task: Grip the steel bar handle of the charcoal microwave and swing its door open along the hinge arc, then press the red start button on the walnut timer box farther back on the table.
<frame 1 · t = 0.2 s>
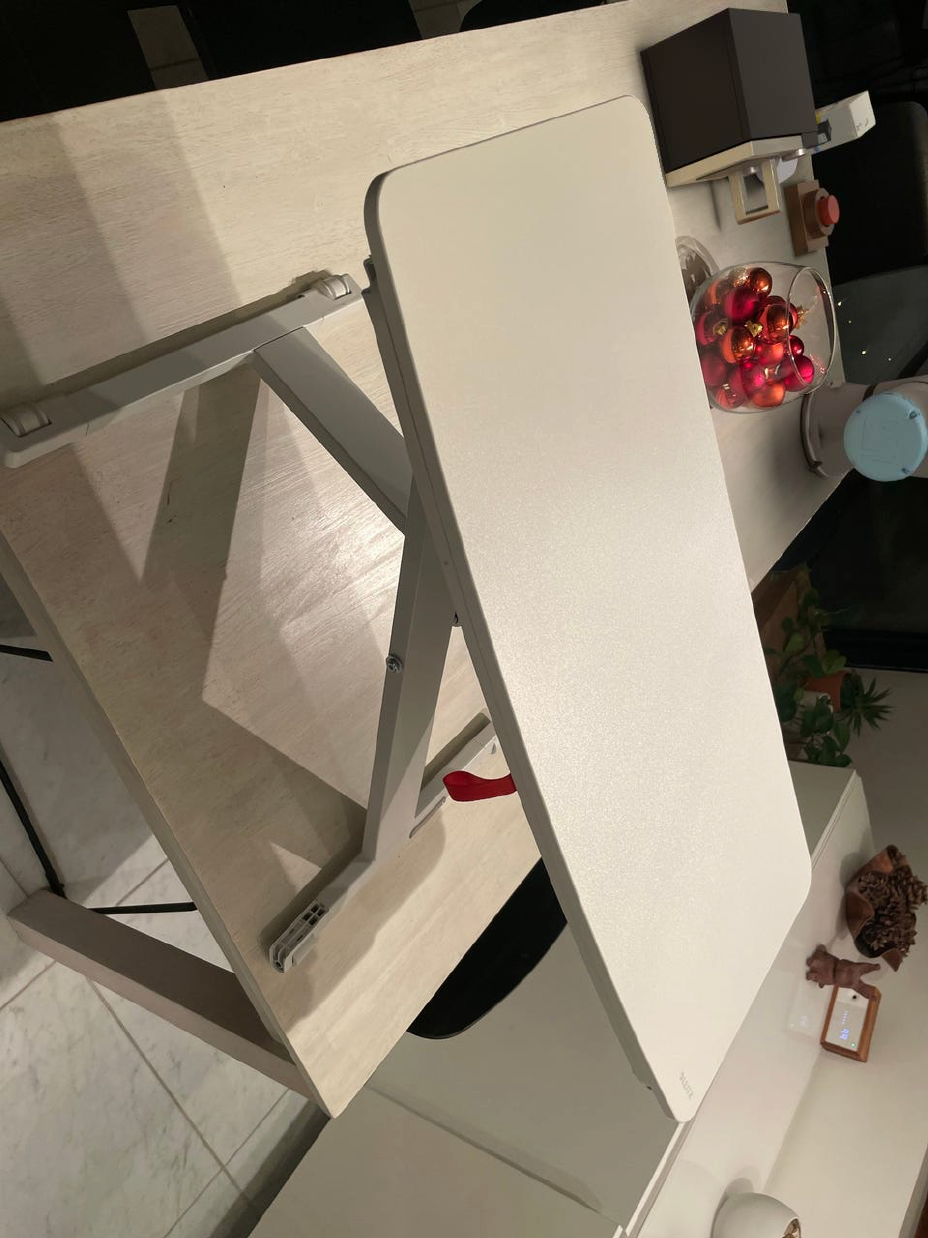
timer box: (799, 219, 148), on the table
wedge on round base: (755, 155, 138), on the table
start button: (828, 210, 144), point 4 cm above the table, slide at 0.1 cm
ink box: (784, 142, 144), on the table
microwave: (690, 110, 124), on the table
door: (739, 188, 121), point 6 cm above the table, hinge at 0.0°
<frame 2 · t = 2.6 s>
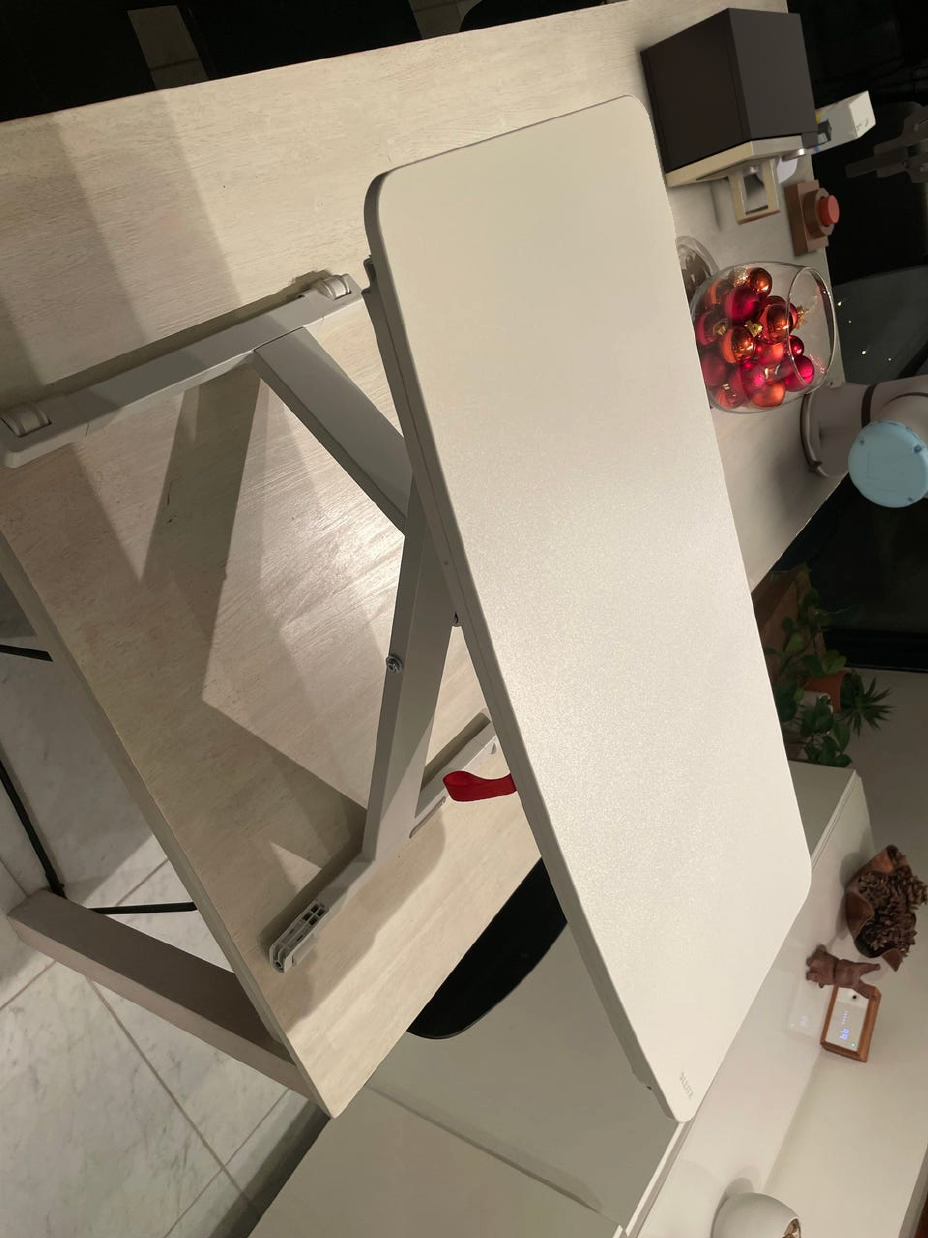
hand: (850, 170, 118), 17 cm above the table, tool pointing down, fingers closed
nothing on the table moved.
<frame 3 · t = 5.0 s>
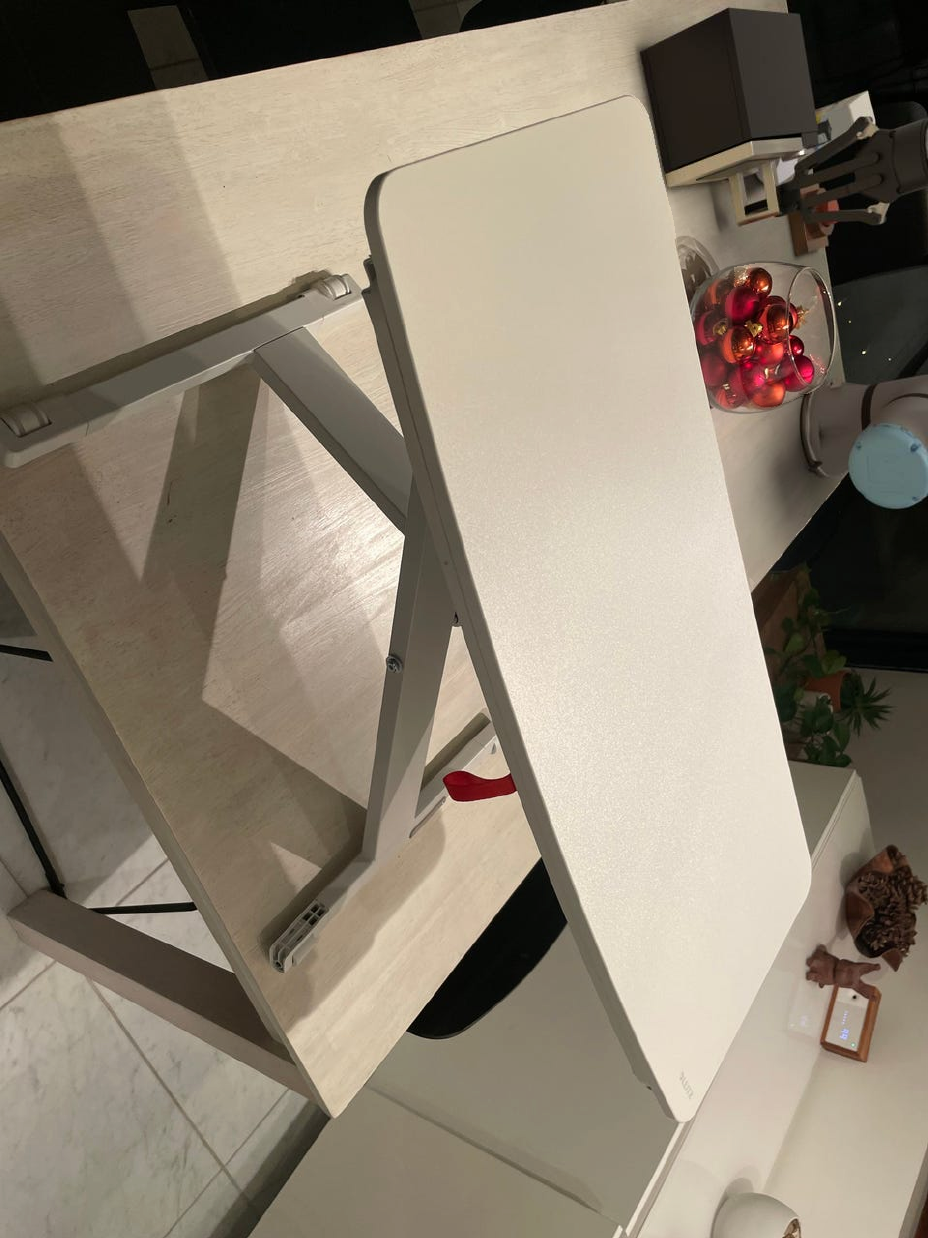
hand: (750, 210, 128), 4 cm above the table, tool pointing down, fingers closed
door: (739, 189, 121), point 6 cm above the table, hinge at 1.0°, touching gripper
everything else where it was.
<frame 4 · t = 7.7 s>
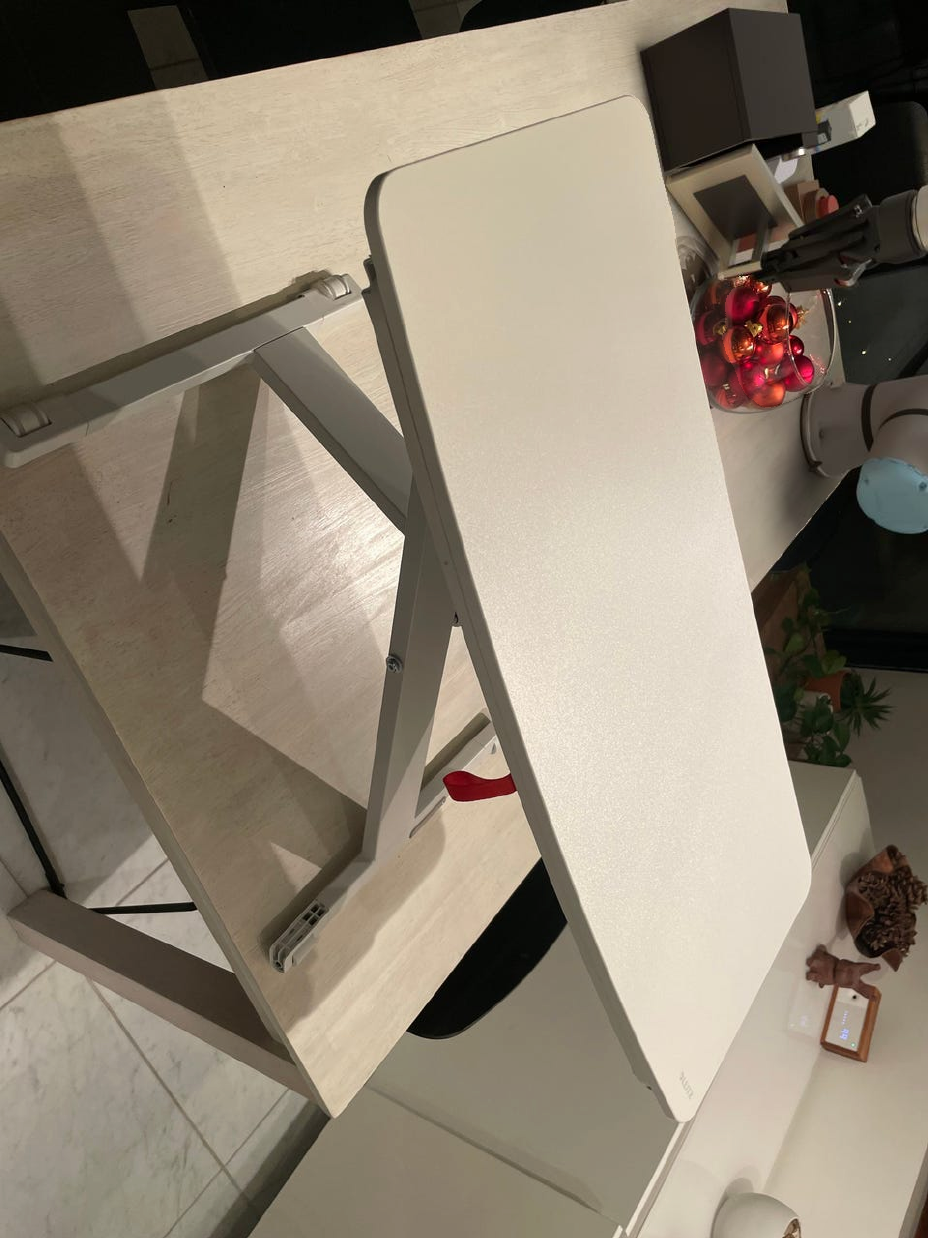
hand: (735, 278, 125), 4 cm above the table, tool pointing down, fingers closed, pressing on door
door: (730, 226, 119), point 6 cm above the table, hinge at 45.1°, touching gripper
everything else where it was.
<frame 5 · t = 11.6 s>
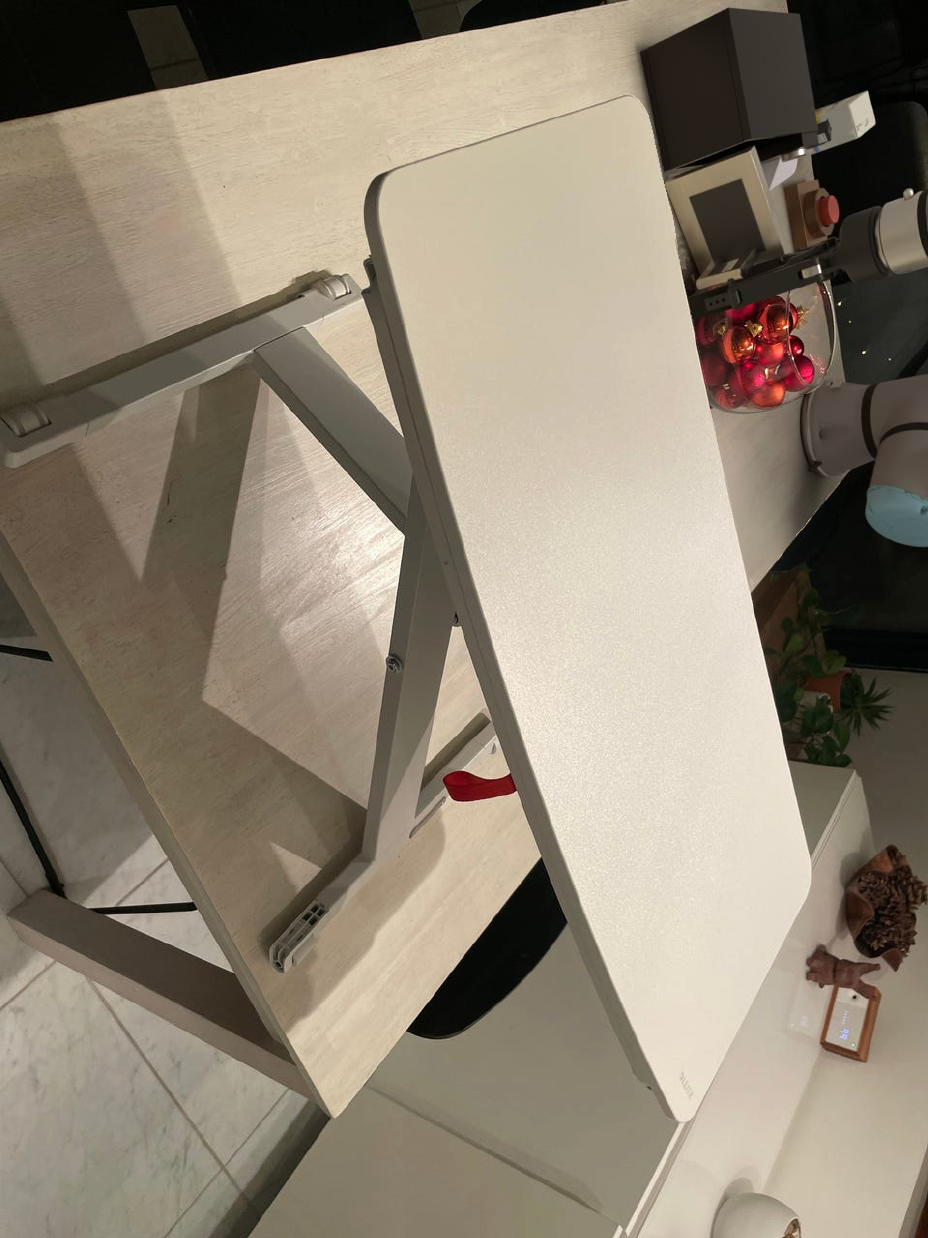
hand: (710, 296, 117), 6 cm above the table, tool pointing down, fingers open, 12 cm apart
door: (718, 233, 117), point 6 cm above the table, hinge at 69.9°, touching gripper
everything else where it was.
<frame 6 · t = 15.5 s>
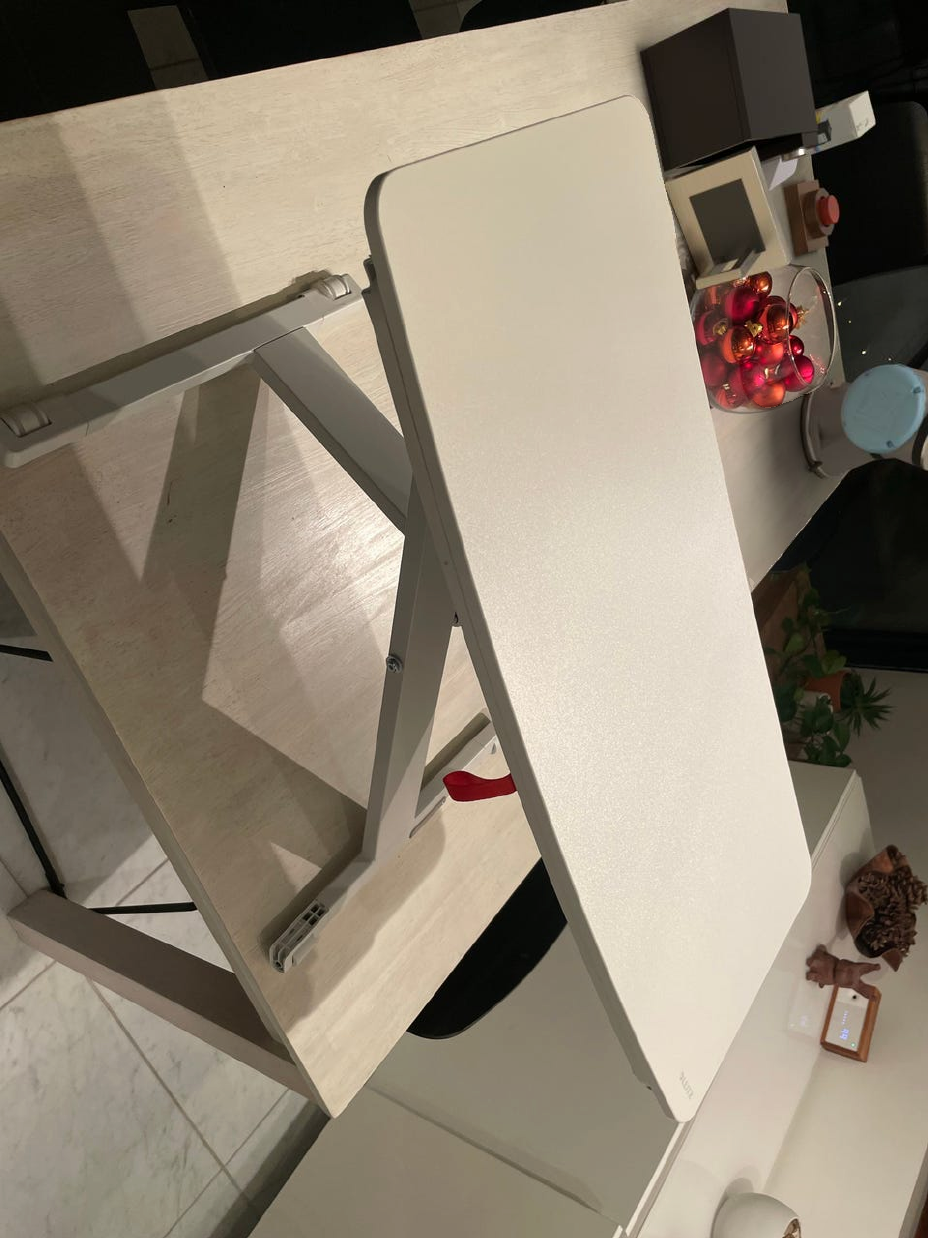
door: (718, 233, 117), point 6 cm above the table, hinge at 70.4°
everything else where it was.
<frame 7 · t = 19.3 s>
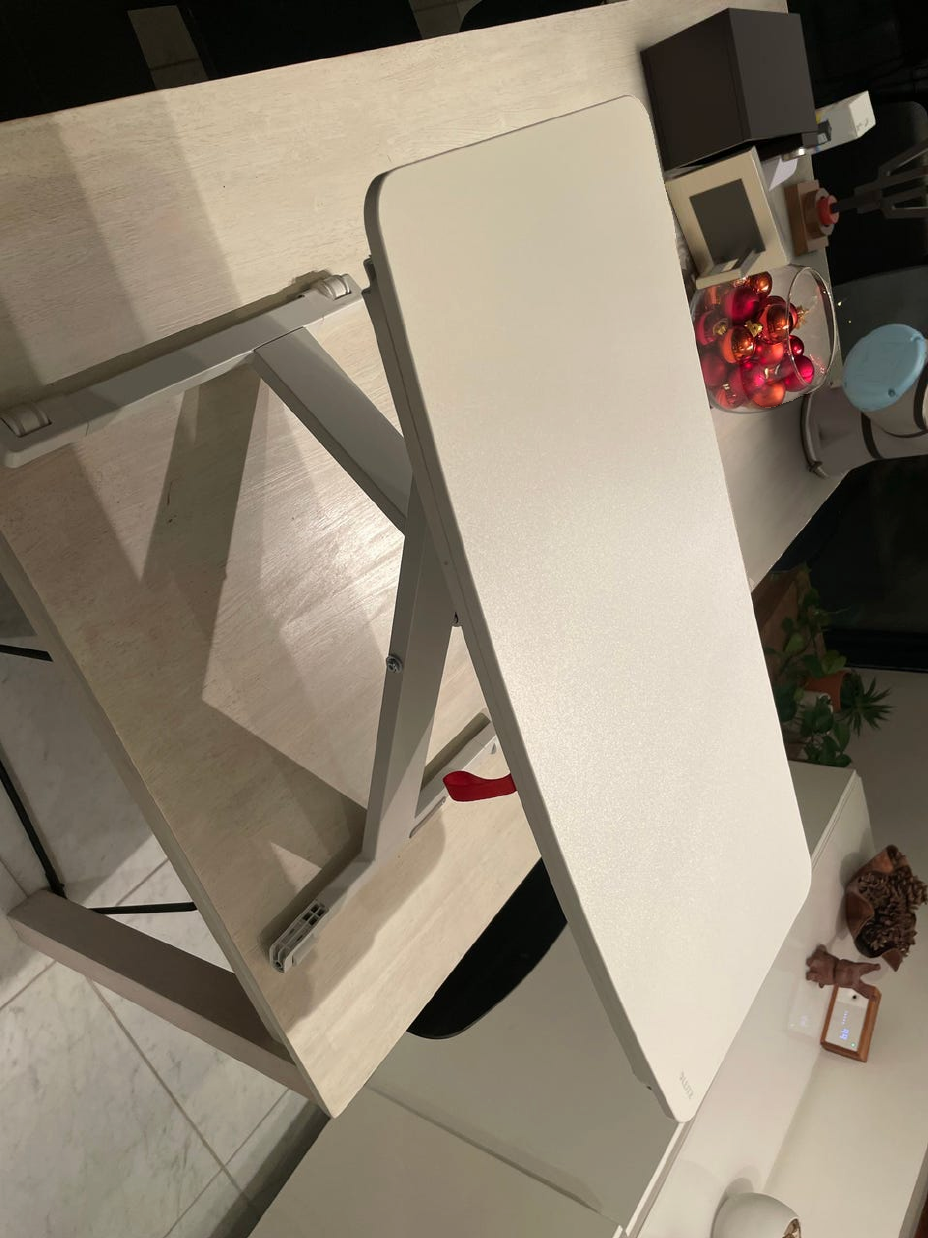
hand: (835, 207, 144), 6 cm above the table, tool pointing down, fingers closed
start button: (827, 210, 144), point 4 cm above the table, slide at 0.1 cm, touching gripper
everything else where it was.
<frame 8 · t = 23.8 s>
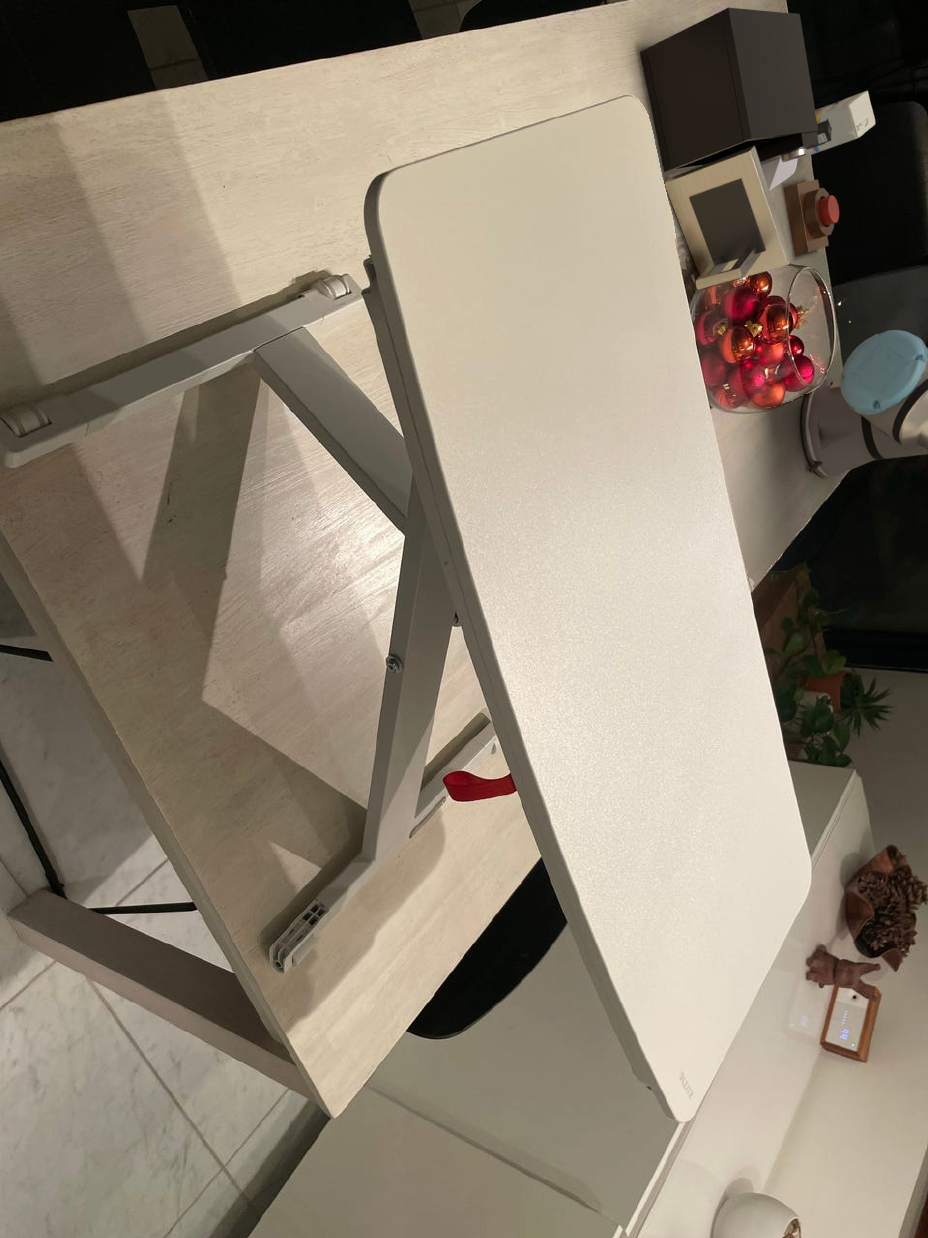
start button: (828, 210, 144), point 4 cm above the table, slide at 0.1 cm
everything else where it was.
at the end: door at +70° (first picture: +0°); start button pushed in 1.0 cm at the most during the clip, back to where it started at the end; start button slide at 0.1 cm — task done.
